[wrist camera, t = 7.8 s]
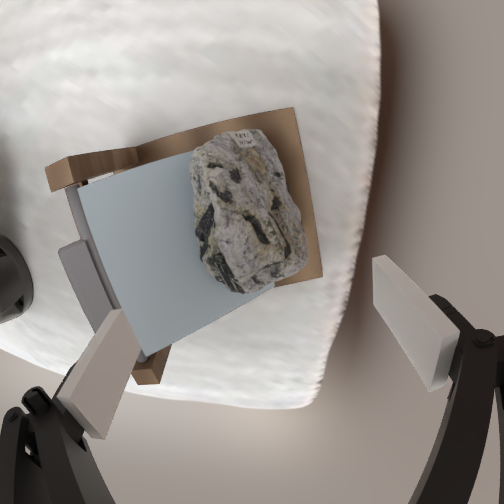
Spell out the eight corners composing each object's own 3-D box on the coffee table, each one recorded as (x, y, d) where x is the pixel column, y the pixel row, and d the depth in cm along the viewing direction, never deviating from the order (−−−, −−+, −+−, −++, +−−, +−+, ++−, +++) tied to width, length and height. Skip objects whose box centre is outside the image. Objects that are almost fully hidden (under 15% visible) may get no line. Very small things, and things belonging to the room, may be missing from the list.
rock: (290, 258, 33) (340, 271, 27) (214, 305, 28) (258, 332, 23) (253, 126, 28) (304, 112, 22) (159, 154, 23) (193, 138, 17)
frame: (158, 306, 39) (123, 385, 25) (109, 157, 32) (30, 175, 17) (321, 274, 38) (358, 349, 24) (291, 107, 30) (327, 84, 16)
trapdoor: (116, 366, 25) (120, 375, 23) (42, 199, 19) (40, 200, 17) (267, 285, 34) (277, 289, 32) (233, 137, 28) (244, 135, 26)
